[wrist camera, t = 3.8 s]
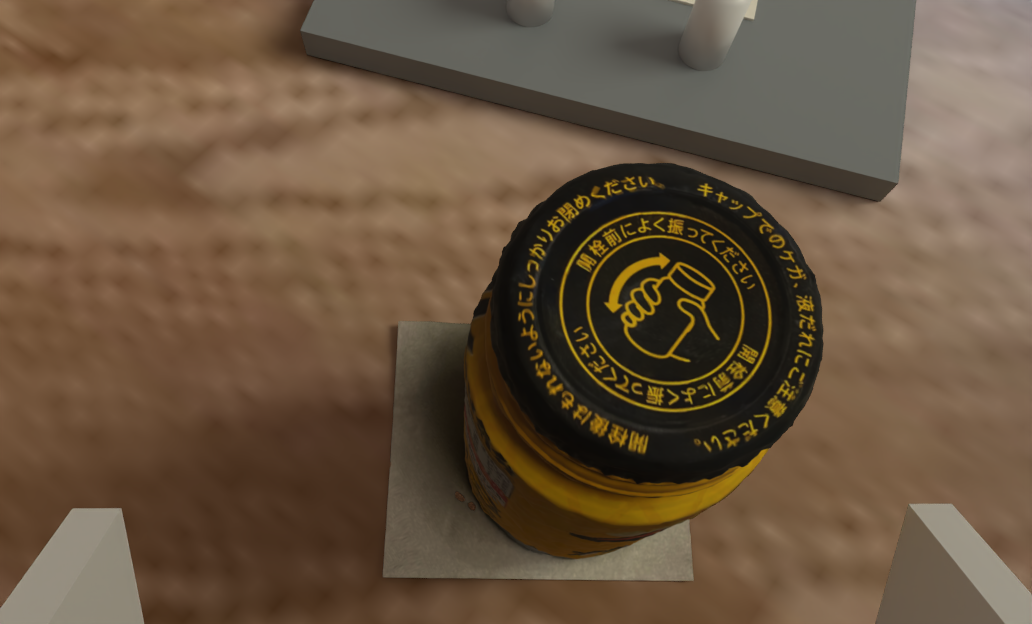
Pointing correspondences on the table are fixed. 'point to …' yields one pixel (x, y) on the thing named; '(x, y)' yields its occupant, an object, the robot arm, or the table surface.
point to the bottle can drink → (601, 384)
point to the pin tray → (664, 71)
